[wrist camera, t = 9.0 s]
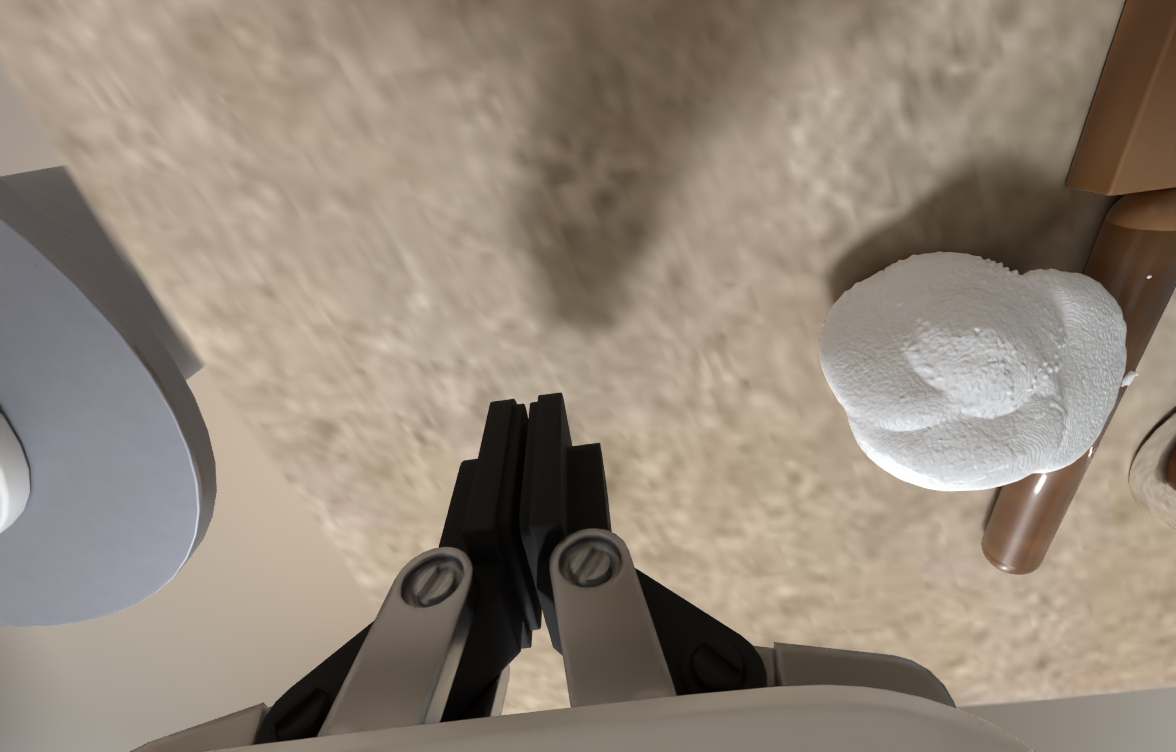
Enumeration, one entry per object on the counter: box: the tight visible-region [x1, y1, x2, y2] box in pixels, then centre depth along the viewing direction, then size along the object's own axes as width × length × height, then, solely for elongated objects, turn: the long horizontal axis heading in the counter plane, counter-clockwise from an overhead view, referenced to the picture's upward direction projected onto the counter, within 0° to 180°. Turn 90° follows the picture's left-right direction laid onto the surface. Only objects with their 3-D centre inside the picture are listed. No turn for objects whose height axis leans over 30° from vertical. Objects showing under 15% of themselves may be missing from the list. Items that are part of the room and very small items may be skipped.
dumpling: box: [819, 251, 1152, 491], centre depth 12 cm, size 7×5×4 cm
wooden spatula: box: [981, 0, 1176, 575], centre depth 13 cm, size 17×3×2 cm, turn 8°
